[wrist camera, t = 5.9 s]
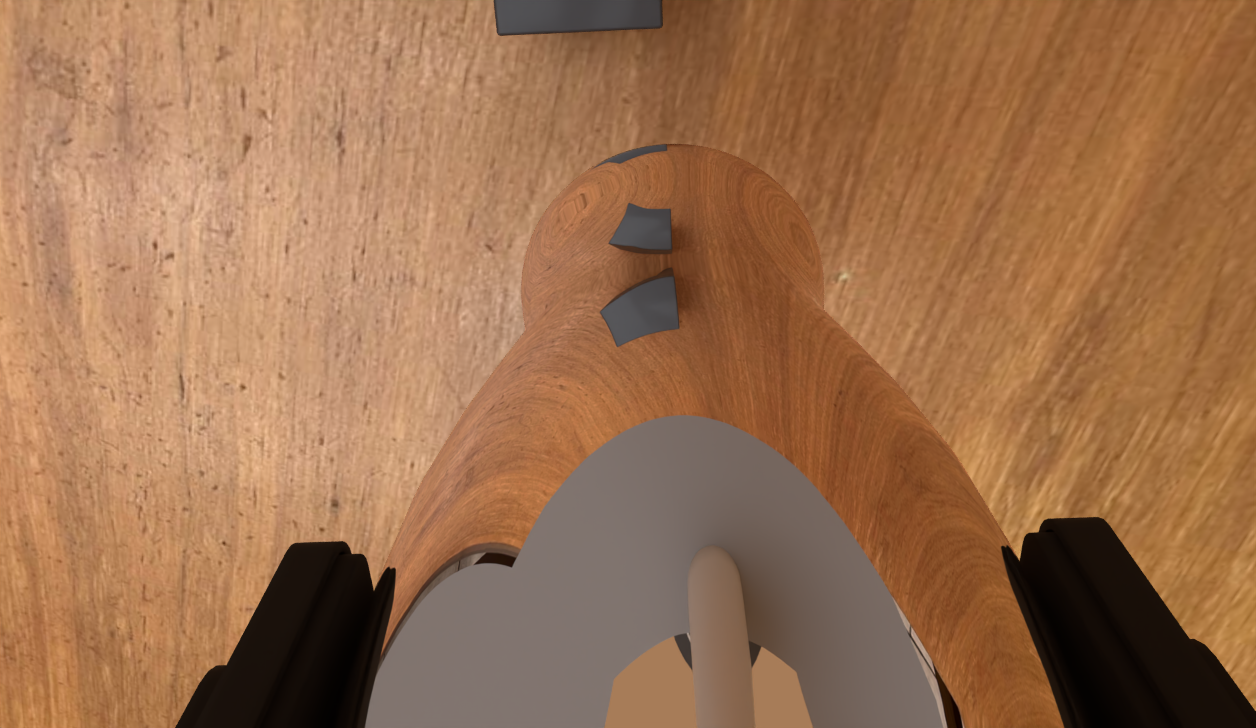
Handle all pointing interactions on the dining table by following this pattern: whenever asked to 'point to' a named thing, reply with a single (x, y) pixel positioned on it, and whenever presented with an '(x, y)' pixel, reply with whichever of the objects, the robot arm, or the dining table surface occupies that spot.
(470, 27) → the dining table surface
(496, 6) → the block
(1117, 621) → the robot arm
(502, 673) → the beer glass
